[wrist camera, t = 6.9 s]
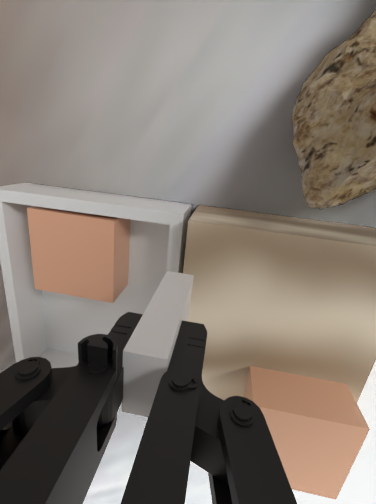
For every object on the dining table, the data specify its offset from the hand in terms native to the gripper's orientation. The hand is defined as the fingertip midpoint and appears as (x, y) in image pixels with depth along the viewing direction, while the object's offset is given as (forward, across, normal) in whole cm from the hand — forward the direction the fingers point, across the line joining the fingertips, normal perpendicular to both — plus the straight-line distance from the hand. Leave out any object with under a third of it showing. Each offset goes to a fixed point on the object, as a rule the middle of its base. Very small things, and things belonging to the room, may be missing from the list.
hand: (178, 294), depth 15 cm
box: (+6, -7, -4) cm, 10 cm away
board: (+6, +6, -4) cm, 10 cm away
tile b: (+1, +8, -8) cm, 11 cm away
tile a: (+3, -8, 0) cm, 8 cm away
